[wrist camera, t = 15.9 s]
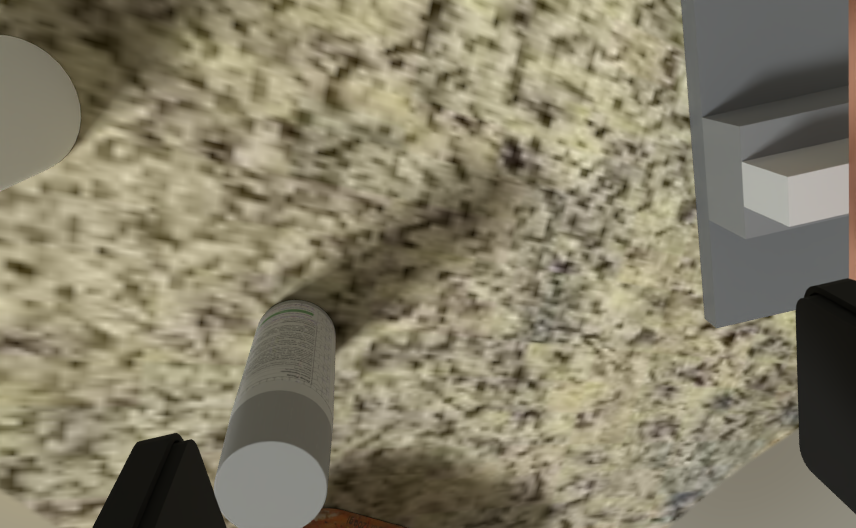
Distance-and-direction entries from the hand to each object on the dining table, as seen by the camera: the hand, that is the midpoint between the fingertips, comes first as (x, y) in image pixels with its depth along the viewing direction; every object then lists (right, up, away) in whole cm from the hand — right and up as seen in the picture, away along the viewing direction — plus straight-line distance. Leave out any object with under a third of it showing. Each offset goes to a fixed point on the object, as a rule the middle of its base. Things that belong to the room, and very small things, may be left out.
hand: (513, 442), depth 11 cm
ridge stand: (+19, +10, +31) cm, 38 cm away
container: (-9, -2, +32) cm, 33 cm away
